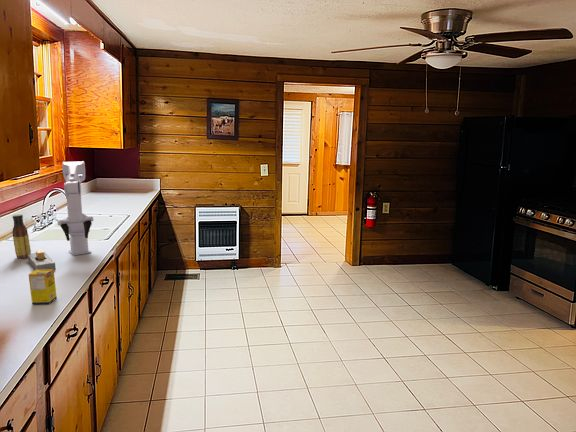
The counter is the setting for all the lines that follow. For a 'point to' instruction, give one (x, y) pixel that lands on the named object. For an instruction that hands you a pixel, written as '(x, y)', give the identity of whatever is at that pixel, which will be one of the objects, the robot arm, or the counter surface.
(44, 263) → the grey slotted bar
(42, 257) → the tan wooden block
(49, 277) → the supplement box
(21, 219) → the sauce bottle
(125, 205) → the counter surface
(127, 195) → the counter surface
